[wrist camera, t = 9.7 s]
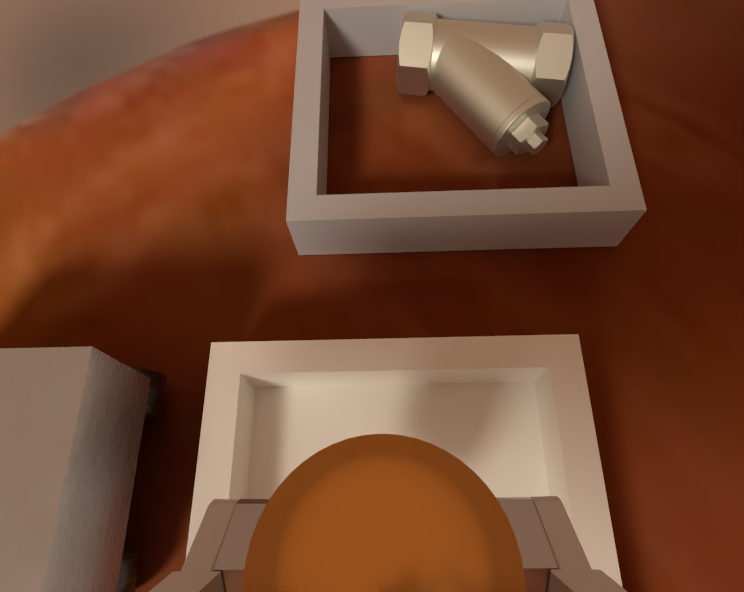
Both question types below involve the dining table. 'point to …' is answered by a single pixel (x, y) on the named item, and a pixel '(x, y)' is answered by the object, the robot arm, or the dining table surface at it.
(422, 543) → the jar with orange lid
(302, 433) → the tray
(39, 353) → the wheeled grey cart
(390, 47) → the parts bin
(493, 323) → the dining table surface
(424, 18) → the pipe fitting
